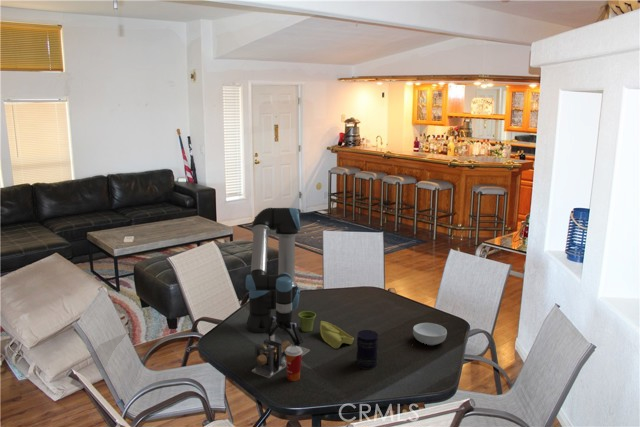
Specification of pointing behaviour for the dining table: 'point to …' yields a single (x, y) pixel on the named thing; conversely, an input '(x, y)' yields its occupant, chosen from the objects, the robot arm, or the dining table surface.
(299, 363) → the paper cup
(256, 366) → the rail
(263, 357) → the copper tube
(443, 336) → the cereal bowl
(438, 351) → the dining table surface
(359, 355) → the storage jar
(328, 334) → the plastic component
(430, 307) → the dining table surface
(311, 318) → the plant pot
